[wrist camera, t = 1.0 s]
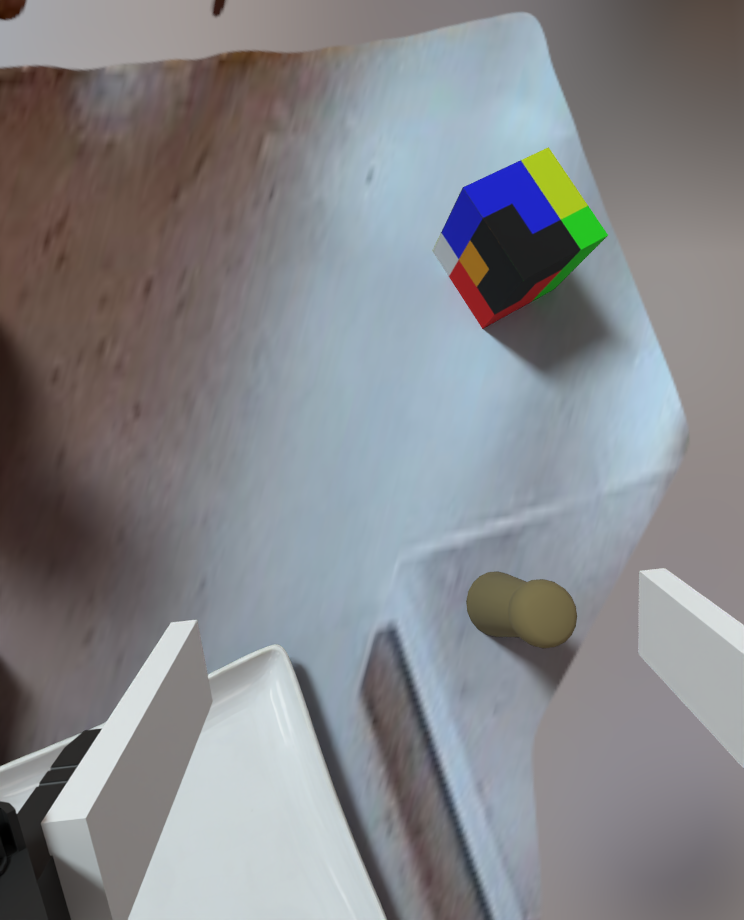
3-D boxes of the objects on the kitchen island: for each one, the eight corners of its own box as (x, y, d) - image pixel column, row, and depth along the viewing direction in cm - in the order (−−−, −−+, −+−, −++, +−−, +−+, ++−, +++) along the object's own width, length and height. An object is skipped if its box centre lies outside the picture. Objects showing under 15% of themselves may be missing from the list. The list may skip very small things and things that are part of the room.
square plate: (64, 1149, 38) (40, 1212, 35) (-45, 778, 42) (-77, 799, 38) (399, 945, 44) (410, 981, 41) (283, 633, 47) (282, 640, 44)
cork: (525, 638, 50) (590, 659, 40) (464, 634, 50) (514, 655, 39) (527, 574, 52) (590, 577, 41) (467, 569, 51) (516, 571, 40)
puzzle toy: (432, 251, 57) (462, 187, 47) (505, 215, 59) (548, 147, 49) (482, 329, 56) (523, 280, 46) (554, 289, 58) (608, 235, 48)
